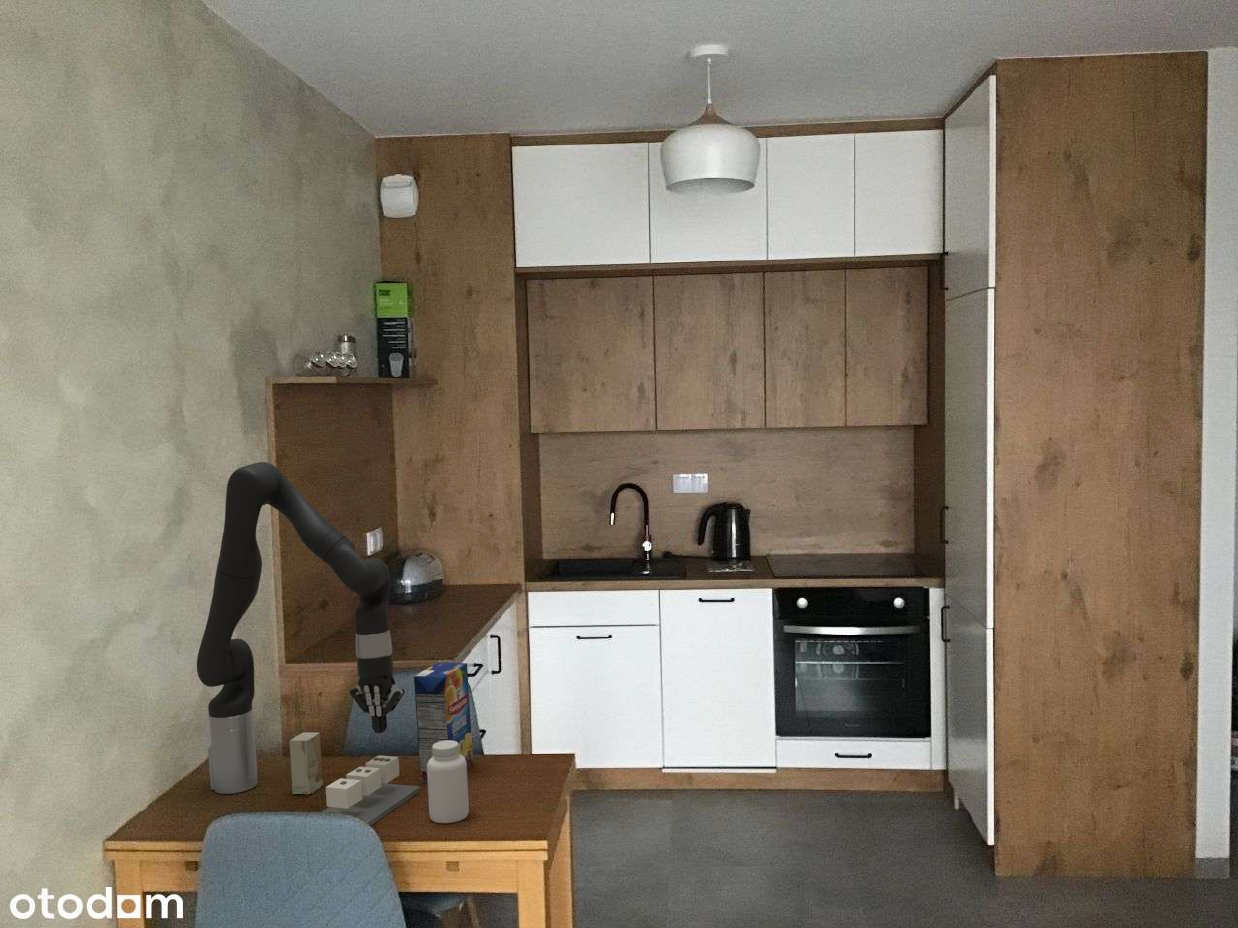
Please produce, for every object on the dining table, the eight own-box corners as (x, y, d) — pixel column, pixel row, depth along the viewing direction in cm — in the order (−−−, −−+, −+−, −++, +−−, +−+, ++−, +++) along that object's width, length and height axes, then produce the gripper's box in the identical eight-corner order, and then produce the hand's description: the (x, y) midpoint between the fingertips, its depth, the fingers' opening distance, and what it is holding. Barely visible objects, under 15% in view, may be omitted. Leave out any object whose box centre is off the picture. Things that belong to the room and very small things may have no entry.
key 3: (366, 781, 222) (365, 761, 221) (379, 773, 226) (378, 753, 226) (386, 783, 220) (385, 763, 220) (399, 774, 225) (398, 755, 224)
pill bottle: (451, 827, 204) (447, 752, 204) (421, 820, 209) (416, 747, 208) (477, 812, 211) (473, 740, 210) (447, 806, 215) (443, 735, 214)
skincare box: (310, 795, 225) (306, 740, 225) (291, 795, 226) (288, 740, 226) (324, 785, 232) (320, 731, 231) (306, 784, 233) (302, 731, 232)
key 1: (326, 806, 209) (325, 785, 208) (341, 797, 213) (340, 776, 213) (347, 808, 207) (346, 787, 207) (362, 799, 212) (360, 778, 211)
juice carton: (444, 763, 242) (437, 662, 240) (473, 765, 240) (467, 663, 238) (420, 782, 230) (413, 676, 229) (451, 783, 228) (444, 676, 227)
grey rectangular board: (307, 825, 209) (306, 821, 209) (369, 786, 229) (368, 781, 229) (361, 831, 204) (361, 826, 204) (420, 790, 225) (419, 786, 225)
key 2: (347, 793, 215) (346, 773, 215) (361, 784, 220) (360, 764, 220) (367, 795, 213) (366, 775, 213) (381, 786, 218) (380, 766, 218)
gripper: (337, 655, 220) (343, 735, 221) (390, 657, 216) (396, 739, 217) (358, 647, 227) (364, 725, 228) (410, 649, 223) (416, 728, 224)
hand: (380, 731), depth 222 cm, fingers closed
